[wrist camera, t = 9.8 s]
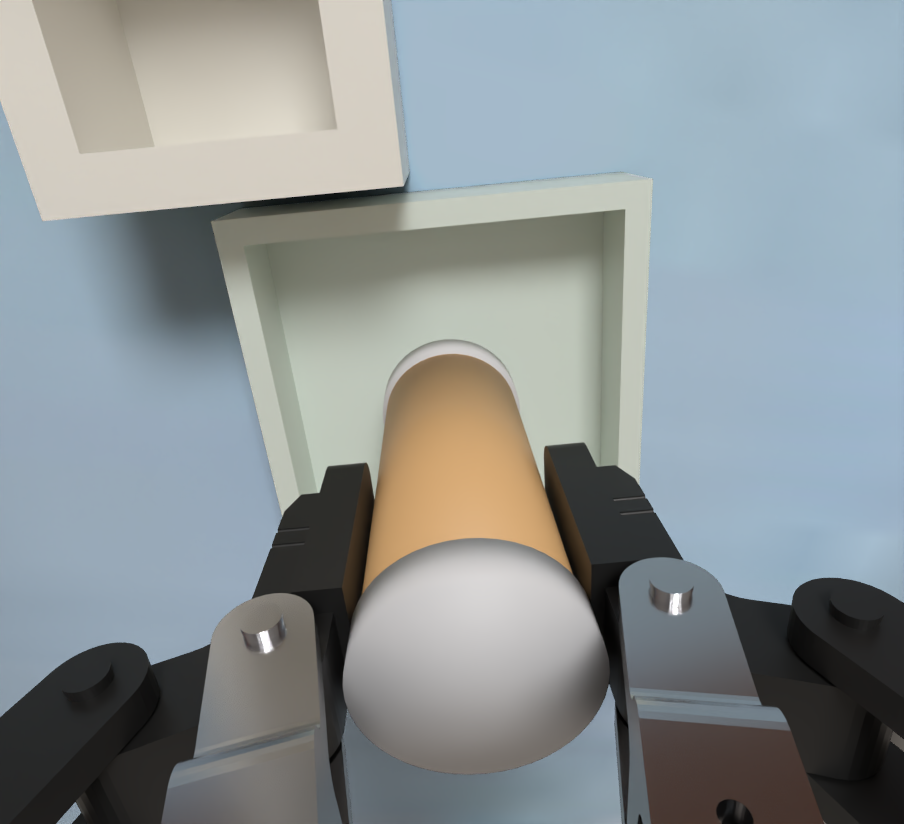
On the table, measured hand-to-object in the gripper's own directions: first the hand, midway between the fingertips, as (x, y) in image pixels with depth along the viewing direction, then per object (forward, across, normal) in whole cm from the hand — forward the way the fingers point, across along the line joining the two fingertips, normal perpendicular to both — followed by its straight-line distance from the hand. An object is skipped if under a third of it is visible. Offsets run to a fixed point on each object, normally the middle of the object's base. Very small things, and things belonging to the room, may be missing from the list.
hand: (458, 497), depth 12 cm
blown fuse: (+5, 0, 0) cm, 5 cm away
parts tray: (+7, 0, 0) cm, 7 cm away
